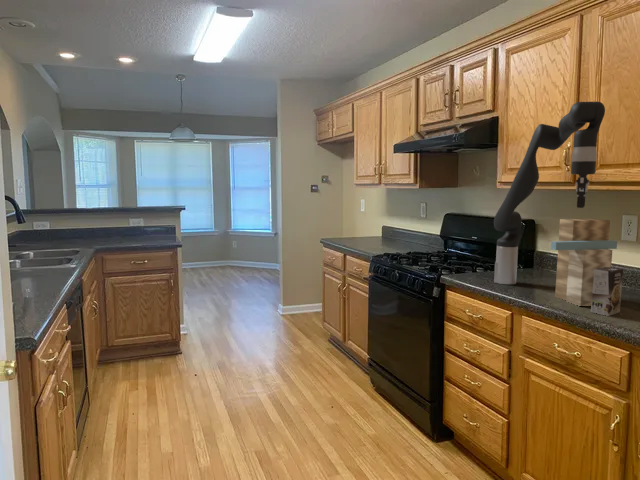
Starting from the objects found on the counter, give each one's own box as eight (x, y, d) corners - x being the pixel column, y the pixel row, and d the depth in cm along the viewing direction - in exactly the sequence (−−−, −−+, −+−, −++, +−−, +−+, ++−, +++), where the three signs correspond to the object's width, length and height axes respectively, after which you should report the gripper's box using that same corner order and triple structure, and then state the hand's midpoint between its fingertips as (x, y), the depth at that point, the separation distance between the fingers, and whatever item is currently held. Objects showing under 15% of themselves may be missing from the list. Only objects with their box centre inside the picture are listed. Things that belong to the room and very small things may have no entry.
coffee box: (609, 316, 172) (612, 271, 170) (590, 312, 177) (593, 268, 175) (620, 312, 177) (624, 268, 175) (602, 308, 182) (605, 266, 180)
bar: (555, 250, 182) (556, 242, 182) (550, 249, 185) (551, 241, 185) (616, 248, 187) (617, 241, 187) (610, 247, 190) (611, 240, 190)
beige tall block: (580, 307, 184) (584, 250, 182) (566, 301, 192) (569, 247, 190) (608, 305, 186) (612, 249, 184) (593, 300, 194) (596, 247, 192)
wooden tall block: (568, 301, 192) (573, 220, 188) (555, 296, 200) (560, 219, 196) (604, 300, 195) (610, 220, 191) (589, 295, 203) (595, 218, 199)
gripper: (596, 159, 162) (592, 208, 164) (596, 161, 174) (593, 206, 176) (570, 160, 166) (567, 207, 168) (572, 161, 178) (569, 206, 180)
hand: (580, 207), depth 172 cm, fingers open, 8 cm apart
